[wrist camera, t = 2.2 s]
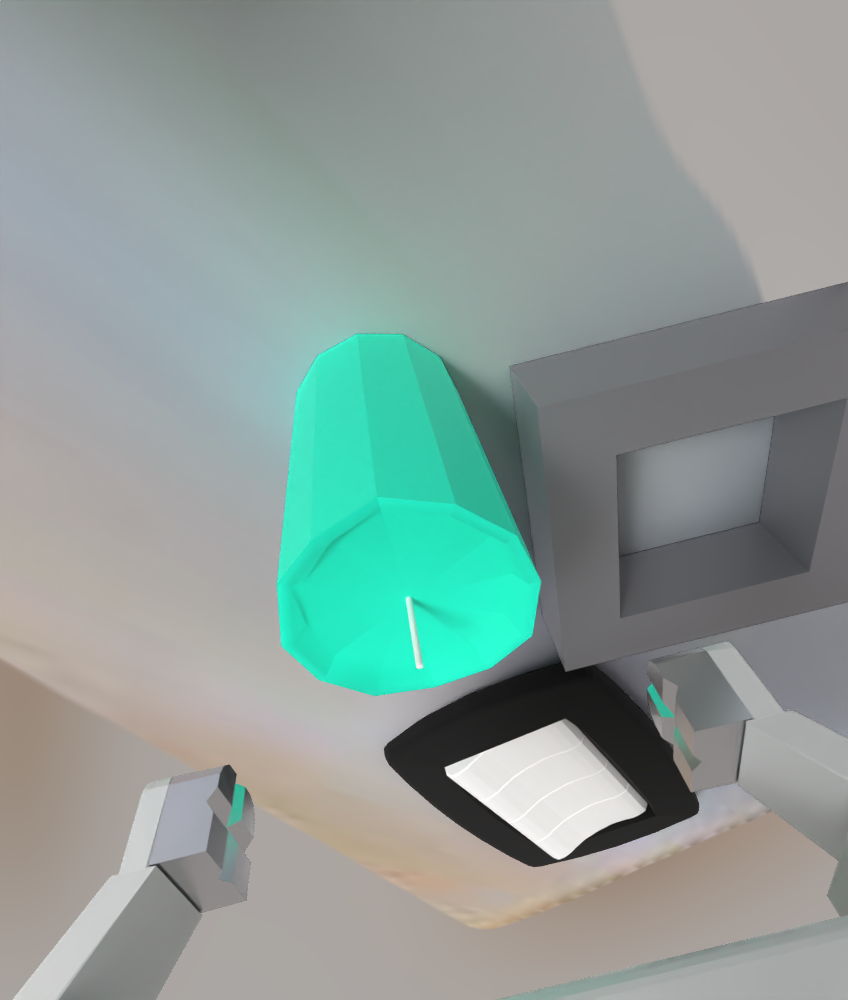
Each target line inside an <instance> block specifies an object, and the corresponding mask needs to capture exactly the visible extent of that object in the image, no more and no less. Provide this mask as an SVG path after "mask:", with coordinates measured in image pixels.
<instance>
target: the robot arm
mask: <svg viewBox="0 0 848 1000" xmlns="http://www.w3.org/2000/svg"><path fill="white" fill-rule="evenodd" d="M647 675H648V677H649V678H650V680H651V682H652V683H651V685H650V686H649V687H648V688H647V699H648V704H649V708H650V712H651V715H652V718H653V720H654V723H655V725H656V727H657V729H658V731H659V733H660V735H661V737H662V738H663V739H664V740H666V741H668V742H669V743H671V744H672V745H674V748H673V760H674V762H675V763H676V765H677V767H678V769H679V771H680V773H681V775H682V776H683V778H684V780H685V782H686V784H687V786H688V788H689V789H690V791H691V792H695V791H700V790H705V789H709V788H714V787H719V786H723V785H728V784H733V783H737V782H738V786H739V787H741V788H742V789H743V790H745V791H746V792H747V793H749V794H750V795H751V796H753V797H754V798H755V799H757V800H758V801H759V802H761V803H762V804H763V805H765V806H766V807H767V808H769V809H770V810H771V811H773V812H774V813H775V814H777V815H778V816H779V817H781V818H782V819H783V820H785V821H786V822H787V823H789V824H790V825H791V826H793V827H794V828H795V829H797V830H798V831H799V832H801V833H802V834H803V835H805V836H806V837H807V838H809V839H810V840H812V841H813V842H814V843H815V844H817V845H818V846H819V847H821V848H822V849H823V850H825V851H826V852H827V853H829V854H830V855H831V856H833V857H834V858H835V859H837V860H838V863H837V867H836V870H835V872H834V876H833V878H832V881H831V884H830V887H829V891H828V894H827V896H828V898H829V900H830V901H831V903H832V905H833V906H834V908H835V909H836V911H837V913H838V914H839V916H840V917H838V918H834V919H829V920H825V921H822V922H817V923H813V924H809V925H805V926H800V927H796V928H792V929H788V930H784V931H780V932H776V933H771V934H767V935H763V936H759V937H755V938H750V939H746V940H743V941H738V942H734V943H730V944H726V945H721V946H717V947H713V948H709V949H705V950H701V951H696V952H692V953H688V954H684V955H680V956H676V957H672V958H668V959H663V960H659V961H655V962H651V963H647V964H642V965H639V966H634V967H630V968H626V969H622V970H618V971H613V972H609V973H605V974H601V975H597V976H593V977H588V978H584V979H580V980H576V981H572V982H568V983H564V984H559V985H555V986H551V987H547V988H543V989H539V990H535V991H530V992H526V993H522V994H518V995H514V996H509V997H505V998H502V999H497V1000H848V739H847V738H845V737H844V736H842V735H840V734H838V733H836V732H834V731H832V730H830V729H828V728H826V727H824V726H823V725H821V724H819V723H817V722H815V721H813V720H811V719H809V718H807V717H805V716H803V715H801V714H800V713H798V712H796V711H794V710H790V711H784V710H783V709H782V708H781V706H780V705H779V704H778V702H777V701H776V700H775V698H774V697H773V696H772V695H771V693H770V692H769V691H768V689H767V688H766V687H765V685H764V684H763V683H762V682H761V680H760V679H759V678H758V676H757V675H756V674H755V672H754V671H753V670H752V669H751V667H750V666H749V665H748V663H747V662H746V661H745V659H744V658H743V657H742V656H741V654H740V653H739V652H738V650H737V649H736V648H735V646H734V645H733V644H731V643H729V642H728V641H726V642H721V643H717V644H713V645H710V646H706V647H702V648H695V649H691V650H687V651H683V652H679V653H675V654H672V655H668V656H664V657H660V658H656V659H653V660H649V662H648V664H647ZM236 775H237V774H236V773H235V771H234V770H233V769H232V767H231V766H230V765H225V766H220V767H216V768H211V769H207V770H202V771H198V772H194V773H189V774H184V775H180V776H175V777H170V778H166V779H163V780H158V781H154V782H150V783H148V784H147V786H146V787H145V789H144V790H143V792H142V795H141V798H140V801H139V805H138V809H137V812H136V815H135V819H134V822H133V825H132V829H131V833H130V836H129V839H128V843H127V846H126V850H125V853H124V857H123V860H122V864H121V867H120V870H119V874H117V875H114V876H110V878H109V879H108V880H107V882H106V883H105V884H104V885H103V887H102V888H101V889H100V890H99V892H98V893H97V894H96V895H95V897H94V898H93V899H92V901H91V902H90V903H89V904H88V906H87V907H86V908H85V909H84V910H83V912H82V913H81V914H80V916H79V917H78V918H77V919H76V921H75V922H74V923H73V924H72V926H71V927H70V928H69V929H68V931H67V932H66V933H65V934H64V936H63V937H62V938H61V939H60V941H59V942H58V943H57V945H56V946H55V947H54V948H53V949H52V951H51V952H50V953H49V954H48V956H47V957H46V958H45V960H44V961H43V962H42V963H41V965H40V966H39V967H38V968H37V970H36V971H35V972H34V973H33V975H32V976H31V977H30V978H29V980H28V981H27V982H26V984H25V985H24V986H23V987H22V989H21V990H20V991H19V992H18V994H17V995H16V996H15V997H14V999H13V1000H155V999H156V998H157V996H158V995H159V993H160V991H161V989H162V987H163V985H164V983H165V982H166V980H167V978H168V977H169V975H170V973H171V971H172V969H173V967H174V966H175V964H176V962H177V960H178V958H179V957H180V955H181V953H182V951H183V949H184V948H185V946H186V944H187V942H188V940H189V938H190V937H191V935H192V933H193V931H194V929H195V928H196V926H197V924H198V922H199V921H200V919H201V916H202V914H201V913H203V912H206V911H210V910H214V909H217V908H221V907H225V906H228V905H232V904H235V903H239V902H243V901H246V900H247V891H248V883H249V874H250V865H251V862H250V860H249V859H248V857H247V856H246V854H245V852H244V851H245V850H246V848H247V847H248V845H249V844H250V842H251V841H252V839H253V838H254V828H255V815H254V805H253V802H252V799H251V796H250V794H249V792H248V791H247V789H246V788H245V787H243V786H241V785H238V784H236V783H235V782H236Z"/></svg>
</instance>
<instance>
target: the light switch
mask: <svg viewBox="0 0 848 1000" xmlns="http://www.w3.org/2000/svg"><path fill="white" fill-rule="evenodd" d="M384 754H385V757H386V760H387V762H388V764H389V765H390V766H391V767H392V768H393V769H394V770H395V771H396V772H397V773H398V774H399V775H400V776H401V777H402V778H403V779H404V780H405V781H406V782H407V783H408V784H409V785H410V786H411V787H412V788H413V789H415V790H416V791H417V792H418V793H419V794H420V795H422V796H423V797H424V798H425V799H426V800H427V801H429V802H430V803H431V804H432V805H433V806H434V807H436V808H437V809H438V810H440V811H441V812H442V813H444V814H445V815H446V816H447V817H449V818H450V819H451V820H453V821H454V822H455V823H457V824H458V825H460V826H461V827H463V828H464V829H466V830H467V831H469V832H470V833H472V834H473V835H475V836H476V837H478V838H479V839H481V840H482V841H484V842H486V843H488V844H489V845H491V846H493V847H494V848H496V849H498V850H500V851H501V852H503V853H505V854H507V855H508V856H510V857H512V858H514V859H516V860H518V861H520V862H522V863H524V864H526V865H528V866H532V867H539V866H544V865H548V864H553V863H557V862H561V861H566V860H570V859H574V858H578V857H582V856H585V855H589V854H592V853H596V852H599V851H603V850H606V849H609V848H613V847H616V846H619V845H622V844H625V843H627V842H630V841H633V840H636V839H638V838H641V837H644V836H647V835H650V834H652V833H655V832H658V831H660V830H662V829H665V828H667V827H669V826H671V825H674V824H676V823H678V822H681V821H683V820H685V819H688V818H690V817H692V816H694V815H696V814H697V813H698V811H699V802H698V799H697V796H696V794H695V792H691V791H690V789H689V788H688V786H687V784H686V782H685V780H684V778H683V776H682V775H681V773H680V771H679V769H678V767H677V765H676V763H675V762H674V760H673V749H672V748H671V746H670V745H669V743H668V742H667V741H666V740H664V739H663V738H662V737H661V735H660V733H659V731H658V729H657V727H656V726H655V725H654V724H653V722H652V721H651V720H650V719H649V718H648V717H647V715H646V714H645V713H644V712H643V711H642V710H641V709H640V708H639V707H638V706H637V705H636V704H635V703H634V702H633V701H632V700H631V699H630V698H629V697H628V695H627V694H626V693H625V692H624V691H623V690H622V689H621V688H620V687H619V686H618V685H617V684H616V683H614V682H613V681H612V680H611V679H610V678H609V677H607V676H606V675H605V674H604V673H603V672H602V671H600V670H599V669H598V668H597V667H596V666H595V665H591V666H586V667H582V668H578V669H574V670H570V671H566V672H565V669H564V667H563V664H562V663H561V664H557V665H554V666H551V667H547V668H544V669H541V670H537V671H534V672H531V673H527V674H524V675H520V676H517V677H515V678H512V679H509V680H507V681H504V682H502V683H499V684H496V685H494V686H491V687H489V688H486V689H483V690H481V691H478V692H476V693H473V694H470V695H468V696H466V697H464V698H462V699H460V700H458V701H456V702H454V703H452V704H450V705H448V706H446V707H444V708H442V709H440V710H438V711H436V712H434V713H432V714H430V715H428V716H426V717H424V718H422V719H421V720H419V721H418V722H416V723H415V724H413V725H412V726H411V727H409V728H408V729H407V730H405V731H404V732H403V733H401V734H400V735H399V736H397V737H396V738H394V739H393V740H392V741H390V742H389V743H388V744H387V745H386V747H385V748H384Z"/></svg>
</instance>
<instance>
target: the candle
mask: <svg viewBox="0 0 848 1000" xmlns="http://www.w3.org/2000/svg"><path fill="white" fill-rule="evenodd" d="M540 585H541V579H540V577H539V575H538V573H537V570H536V568H535V566H534V564H533V561H532V559H531V557H530V554H529V552H528V550H527V548H526V545H525V543H524V541H523V539H522V536H521V534H520V532H519V529H518V527H517V525H516V523H515V520H514V518H513V516H512V514H511V511H510V509H509V507H508V504H507V502H506V500H505V498H504V495H503V493H502V491H501V489H500V486H499V484H498V482H497V479H496V477H495V475H494V473H493V470H492V468H491V466H490V464H489V461H488V459H487V457H486V454H485V452H484V450H483V448H482V445H481V443H480V441H479V439H478V436H477V434H476V432H475V429H474V427H473V425H472V423H471V420H470V418H469V416H468V414H467V411H466V409H465V407H464V404H463V402H462V400H461V398H460V395H459V393H458V391H457V389H456V387H455V385H454V383H453V381H452V379H451V377H450V375H449V374H448V372H447V370H446V368H445V366H444V364H443V362H442V360H441V358H440V356H438V355H437V354H435V353H433V352H431V351H430V350H428V349H426V348H425V347H423V346H421V345H420V344H418V343H416V342H415V341H413V340H411V339H410V338H408V337H406V336H405V335H403V334H355V335H354V336H352V337H350V338H348V339H346V340H345V341H343V342H341V343H339V344H337V345H335V346H334V347H332V348H330V349H328V350H326V351H325V352H323V353H321V354H319V355H318V356H317V357H316V359H315V361H314V363H313V364H312V366H311V368H310V370H309V371H308V373H307V375H306V377H305V378H304V380H303V382H302V384H301V386H300V387H299V389H298V391H297V395H296V404H295V414H294V424H293V433H292V443H291V453H290V462H289V472H288V482H287V491H286V501H285V511H284V520H283V530H282V540H281V549H280V559H279V569H278V578H277V592H278V606H279V621H280V635H281V646H282V647H283V648H284V649H285V650H286V651H287V652H288V653H290V654H291V655H292V656H293V657H294V658H295V659H296V660H297V661H298V662H299V663H301V664H302V665H303V666H304V667H305V668H306V669H307V670H308V671H309V672H311V673H312V674H313V675H314V676H315V677H316V678H317V679H318V680H320V681H324V682H327V683H331V684H334V685H338V686H341V687H345V688H349V689H352V690H356V691H359V692H363V693H366V694H370V695H373V696H378V695H385V694H392V693H399V692H406V691H412V690H419V689H426V688H433V687H437V686H440V685H443V684H446V683H449V682H452V681H455V680H458V679H461V678H464V677H466V676H469V675H472V674H475V673H478V672H481V671H484V670H487V669H490V668H492V667H493V666H494V665H496V664H497V663H498V662H500V661H501V660H502V659H503V658H505V657H506V656H507V655H508V654H510V653H511V652H512V651H514V650H515V649H516V648H517V647H519V646H520V645H521V644H522V643H524V642H525V641H526V640H528V639H529V638H530V637H531V636H533V629H534V623H535V617H536V610H537V604H538V598H539V591H540Z"/></svg>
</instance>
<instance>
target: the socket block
mask: <svg viewBox="0 0 848 1000" xmlns="http://www.w3.org/2000/svg"><path fill="white" fill-rule="evenodd" d="M509 367H510V374H511V382H512V390H513V397H514V405H515V413H516V420H517V428H518V436H519V443H520V451H521V458H522V466H523V474H524V481H525V489H526V497H527V504H528V512H529V520H530V527H531V535H532V542H533V550H534V558H535V565H536V570H537V573H538V575H539V577H540V579H541V585H540V591H539V596H540V604H541V611H542V616H543V618H544V621H545V623H546V626H547V628H548V631H549V633H550V635H551V638H552V640H553V643H554V645H555V647H556V650H557V652H558V655H559V657H560V659H561V662H562V664H563V667H564V669H565V672H566V671H570V670H574V669H578V668H582V667H586V666H591V665H595V664H599V663H603V662H607V661H611V660H615V659H619V658H623V657H627V656H631V655H635V654H639V653H643V652H647V651H651V650H655V649H659V648H663V647H668V646H672V645H676V644H680V643H684V642H688V641H692V640H696V639H700V638H704V637H708V636H712V635H716V634H720V633H724V632H728V631H732V630H736V629H741V628H745V627H749V626H753V625H757V624H761V623H765V622H769V621H773V620H777V619H781V618H785V617H789V616H793V615H797V614H801V613H805V612H809V611H813V610H818V609H822V608H826V607H830V606H834V605H838V604H842V603H846V602H848V282H846V283H842V284H838V285H834V286H830V287H826V288H822V289H818V290H814V291H810V292H806V293H802V294H798V295H794V296H790V297H786V298H782V299H778V300H774V301H770V302H765V303H761V304H757V305H753V306H749V307H745V308H741V309H737V310H733V311H729V312H725V313H721V314H717V315H713V316H709V317H705V318H701V319H697V320H693V321H689V322H685V323H681V324H677V325H673V326H669V327H665V328H661V329H657V330H653V331H649V332H645V333H641V334H637V335H633V336H629V337H625V338H621V339H617V340H613V341H609V342H605V343H601V344H597V345H593V346H589V347H585V348H581V349H577V350H573V351H569V352H565V353H561V354H557V355H553V356H549V357H545V358H541V359H537V360H533V361H529V362H525V363H521V364H517V365H513V366H509ZM773 416H775V417H774V424H773V431H772V438H771V445H770V452H769V458H768V465H767V472H766V479H765V486H764V493H763V499H762V506H761V513H760V520H759V522H758V523H754V524H750V525H746V526H742V527H738V528H734V529H730V530H726V531H722V532H718V533H714V534H710V535H706V536H702V537H698V538H694V539H690V540H686V541H682V542H677V543H673V544H669V545H665V546H661V547H657V548H653V549H649V550H645V551H641V552H637V553H633V554H629V555H625V556H621V557H619V542H618V501H617V460H616V455H620V454H624V453H628V452H632V451H636V450H640V449H644V448H648V447H652V446H656V445H660V444H664V443H668V442H672V441H676V440H680V439H684V438H688V437H692V436H696V435H700V434H704V433H708V432H712V431H716V430H720V429H724V428H728V427H732V426H736V425H740V424H744V423H748V422H752V421H756V420H760V419H765V418H769V417H773Z"/></svg>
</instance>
